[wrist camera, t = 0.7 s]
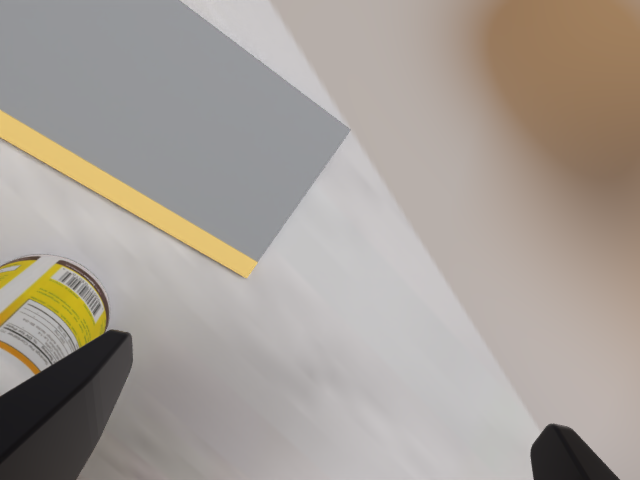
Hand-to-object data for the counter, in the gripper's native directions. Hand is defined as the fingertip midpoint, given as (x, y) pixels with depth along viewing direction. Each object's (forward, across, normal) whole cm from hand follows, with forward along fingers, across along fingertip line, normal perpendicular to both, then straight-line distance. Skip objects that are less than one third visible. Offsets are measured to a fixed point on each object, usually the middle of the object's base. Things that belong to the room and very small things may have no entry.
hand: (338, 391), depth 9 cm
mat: (+12, +9, -1) cm, 15 cm away
